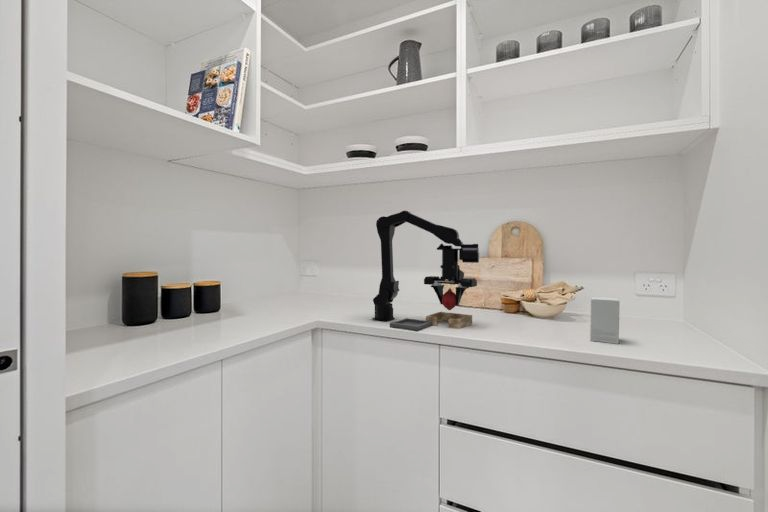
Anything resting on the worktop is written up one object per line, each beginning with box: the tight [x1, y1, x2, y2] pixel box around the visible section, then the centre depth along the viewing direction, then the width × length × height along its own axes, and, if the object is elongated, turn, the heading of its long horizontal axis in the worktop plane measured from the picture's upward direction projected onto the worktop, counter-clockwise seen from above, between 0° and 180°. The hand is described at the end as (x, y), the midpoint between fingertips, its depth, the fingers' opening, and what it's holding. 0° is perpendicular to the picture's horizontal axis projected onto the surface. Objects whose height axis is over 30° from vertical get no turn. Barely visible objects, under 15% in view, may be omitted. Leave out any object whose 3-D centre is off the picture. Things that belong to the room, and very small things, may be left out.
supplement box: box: [589, 296, 620, 345], centre depth 110 cm, size 7×7×13 cm
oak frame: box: [425, 311, 473, 330], centre depth 134 cm, size 13×12×3 cm
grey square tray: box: [389, 317, 434, 332], centre depth 129 cm, size 11×11×2 cm
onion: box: [441, 288, 456, 311], centre depth 133 cm, size 6×6×8 cm
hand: (449, 305), depth 133 cm, fingers closed on onion, 6 cm apart
